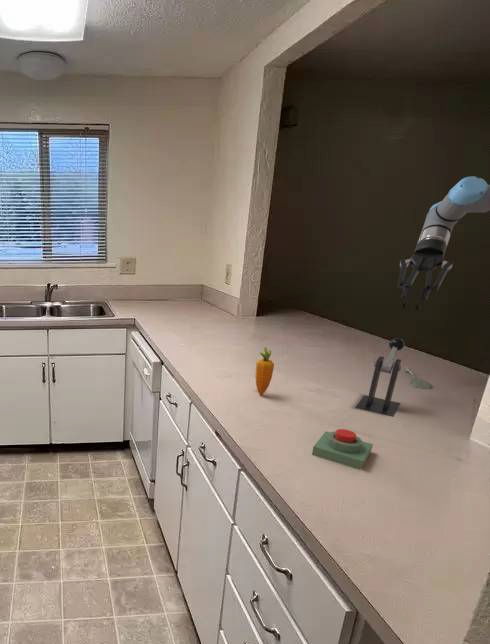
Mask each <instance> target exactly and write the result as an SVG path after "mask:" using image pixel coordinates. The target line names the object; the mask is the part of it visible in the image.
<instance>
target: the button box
mask: <svg viewBox="0 0 490 644" xmlns="http://www.w3.org/2000/svg"><path fill="white" fill-rule="evenodd" d="M335 433H336V430H335V431H327V430H325V431H324V433H323V434H322V435H321V436H320V438H319V439H318V440H317V441H316V442H315V443H314V445H313V447H312V452H311V455H312V456H315V457H318V458H321V459H324V460H328V461H331V462H333V463H334V462H335V463H337V464H341V465H344V466H347V467H351V468H354V469H357V468H358V469H357V470H360V469H362V470H363V468H364V467H365V464H366V462H367V460H368V459H367V458H369V457H370V454H371V453H372V450H373V446H374V444H373V443H369V442H366V441H363V440H362V439H361V437H359V436H357V435H356V438H355V442H354V443H344V442H340V441H338V440H336V439H335Z"/></svg>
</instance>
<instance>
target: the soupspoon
mask: <svg viewBox="0 0 490 644" xmlns="http://www.w3.org/2000/svg"><path fill="white" fill-rule="evenodd" d="M404 371H405V372H406V373H409V374H410V375H411V377H412V378H413V379H409V380H407V382H406V384H407V386H408V387H410V388H414V389H420V390H432V389H433V385H432V384H431V383H430V382H429V381H427V380H424V379H420V378H418V377H417V376H416V374H414V373H413V371H412V368H411V367H408V366H407V367H405V368H404Z"/></svg>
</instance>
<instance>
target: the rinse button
mask: <svg viewBox="0 0 490 644" xmlns="http://www.w3.org/2000/svg"><path fill="white" fill-rule="evenodd" d="M335 431H336V433H335V439H336V440H338V441H340V442H344V443H354V442H355V438H356V436H357V434H356V433H355V432H354V431H352V430H349V429H344V428H339V429H336V430H335Z"/></svg>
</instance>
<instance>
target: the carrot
mask: <svg viewBox="0 0 490 644" xmlns="http://www.w3.org/2000/svg"><path fill="white" fill-rule="evenodd" d="M263 351H264V352H262V351H260V352H259V353H258V354H259V355H261V357H262V358H261V359H258V360H257V361H256V364H255V386H256V391H257V393H258V394H259V396H262V395H264V394H265V392H267V389H268V388H269V386H270V384H271V381H272V378H273V373H274V369H275V367H274V366H275V362H273V360H271V359H270V357H271V354H272V350H271V349H269V350H268V348H267V346H265V347H263Z"/></svg>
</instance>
